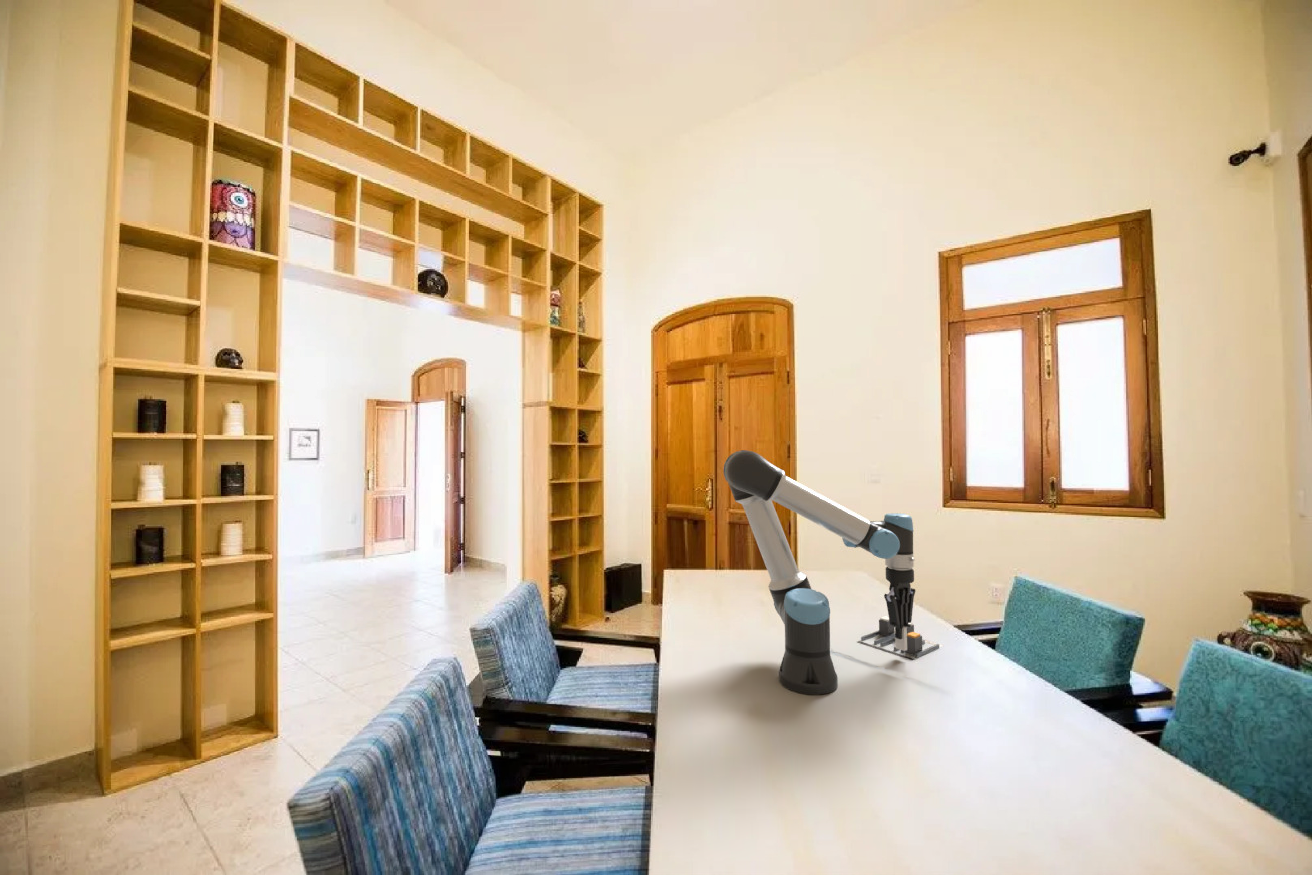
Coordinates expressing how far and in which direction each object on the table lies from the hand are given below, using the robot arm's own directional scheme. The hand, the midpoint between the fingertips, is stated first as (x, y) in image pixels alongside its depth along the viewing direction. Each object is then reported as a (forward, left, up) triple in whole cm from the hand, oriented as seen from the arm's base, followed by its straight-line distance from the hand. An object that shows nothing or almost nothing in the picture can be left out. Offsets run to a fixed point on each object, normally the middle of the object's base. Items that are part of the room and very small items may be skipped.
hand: (901, 648), depth 152 cm
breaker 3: (+7, 0, -3) cm, 8 cm away
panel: (+11, +7, -4) cm, 13 cm away
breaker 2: (+15, +7, -3) cm, 16 cm away
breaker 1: (+15, +13, -3) cm, 20 cm away
